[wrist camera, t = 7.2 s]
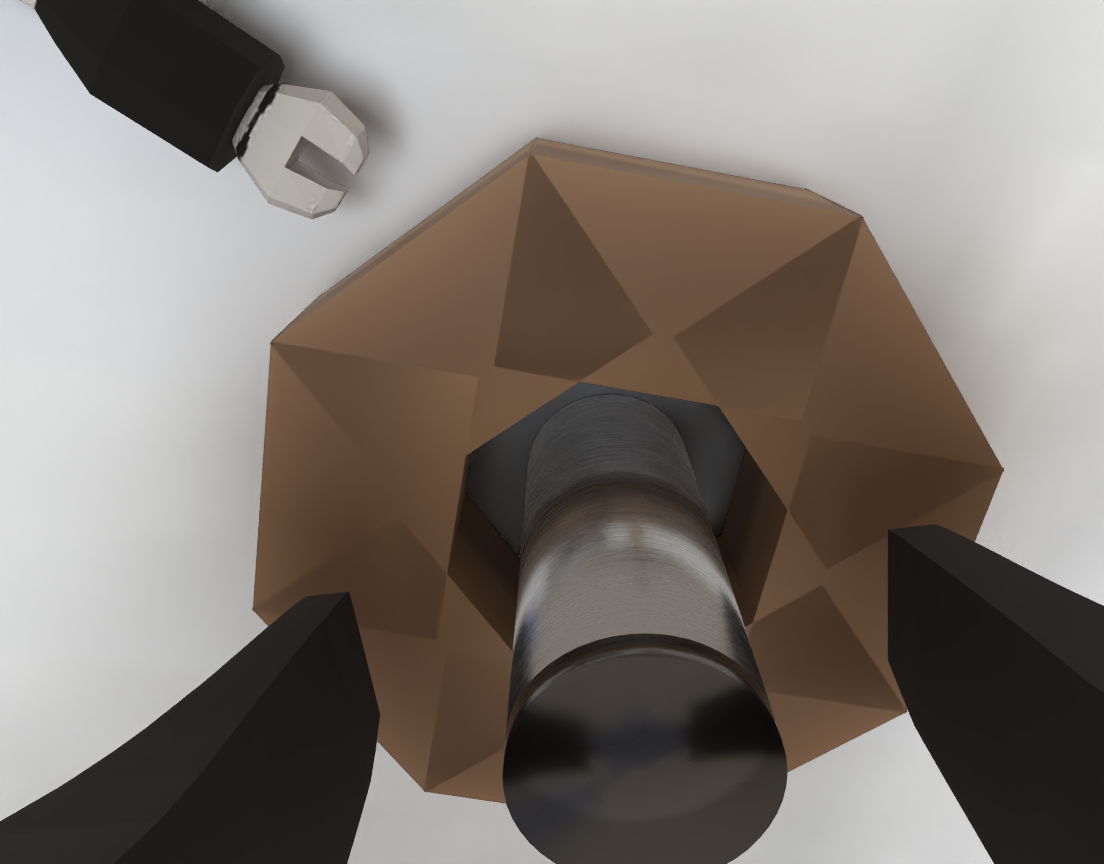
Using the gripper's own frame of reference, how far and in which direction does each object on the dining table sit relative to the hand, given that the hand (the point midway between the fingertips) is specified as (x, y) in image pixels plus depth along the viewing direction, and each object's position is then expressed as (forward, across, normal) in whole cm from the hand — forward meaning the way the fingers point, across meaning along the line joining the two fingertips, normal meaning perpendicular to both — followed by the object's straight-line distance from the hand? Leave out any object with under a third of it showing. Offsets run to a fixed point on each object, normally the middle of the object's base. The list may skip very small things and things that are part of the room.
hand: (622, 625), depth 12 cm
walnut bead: (+5, 0, 0) cm, 5 cm away
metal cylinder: (+5, 0, 0) cm, 5 cm away
